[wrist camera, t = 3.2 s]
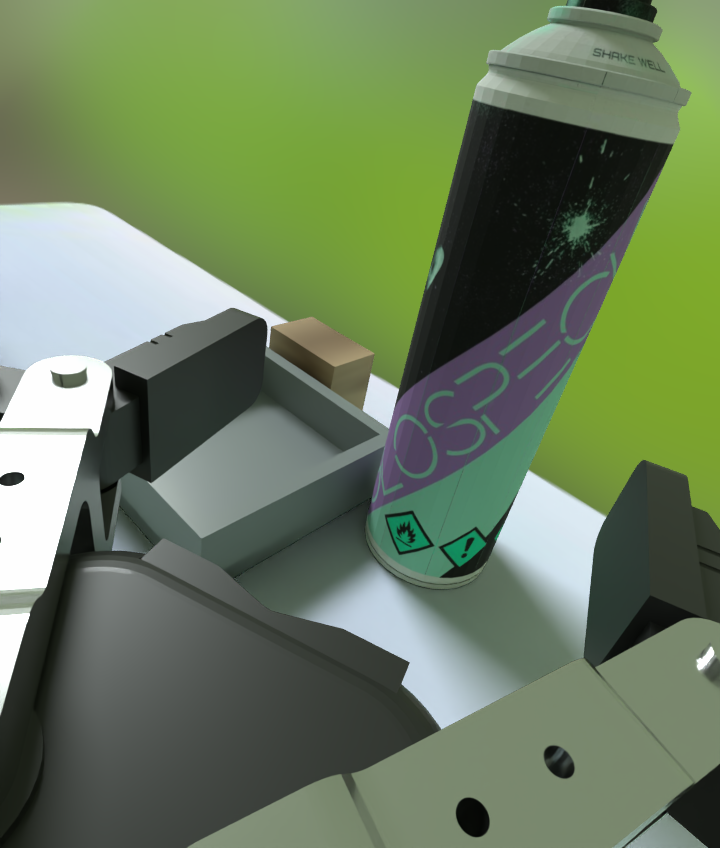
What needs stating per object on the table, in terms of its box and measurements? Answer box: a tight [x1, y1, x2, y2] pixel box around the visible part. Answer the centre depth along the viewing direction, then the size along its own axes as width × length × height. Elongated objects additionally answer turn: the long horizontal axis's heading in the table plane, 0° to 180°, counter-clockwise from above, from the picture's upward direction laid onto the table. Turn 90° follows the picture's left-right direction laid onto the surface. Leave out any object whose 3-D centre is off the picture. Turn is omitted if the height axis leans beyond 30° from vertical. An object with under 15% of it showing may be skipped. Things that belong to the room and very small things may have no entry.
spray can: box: [365, 0, 691, 589], centre depth 19 cm, size 6×6×20 cm
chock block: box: [269, 317, 374, 410], centre depth 31 cm, size 5×3×4 cm, turn 46°
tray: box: [119, 346, 389, 578], centre depth 25 cm, size 10×10×3 cm
